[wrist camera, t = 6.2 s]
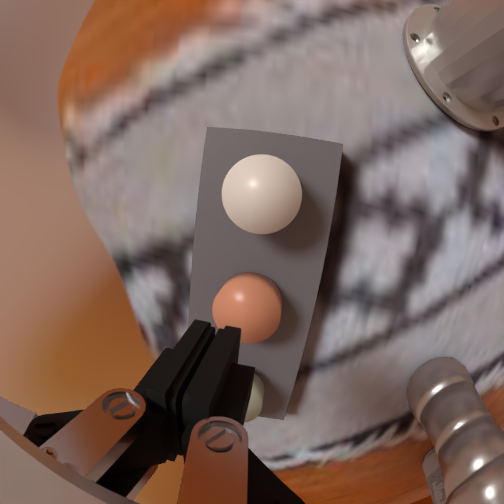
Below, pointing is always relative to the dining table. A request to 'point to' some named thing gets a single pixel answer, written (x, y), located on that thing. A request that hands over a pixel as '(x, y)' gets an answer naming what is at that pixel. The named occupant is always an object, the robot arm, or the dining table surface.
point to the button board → (266, 248)
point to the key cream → (261, 194)
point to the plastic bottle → (459, 431)
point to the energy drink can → (434, 477)
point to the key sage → (255, 399)
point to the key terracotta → (249, 306)
